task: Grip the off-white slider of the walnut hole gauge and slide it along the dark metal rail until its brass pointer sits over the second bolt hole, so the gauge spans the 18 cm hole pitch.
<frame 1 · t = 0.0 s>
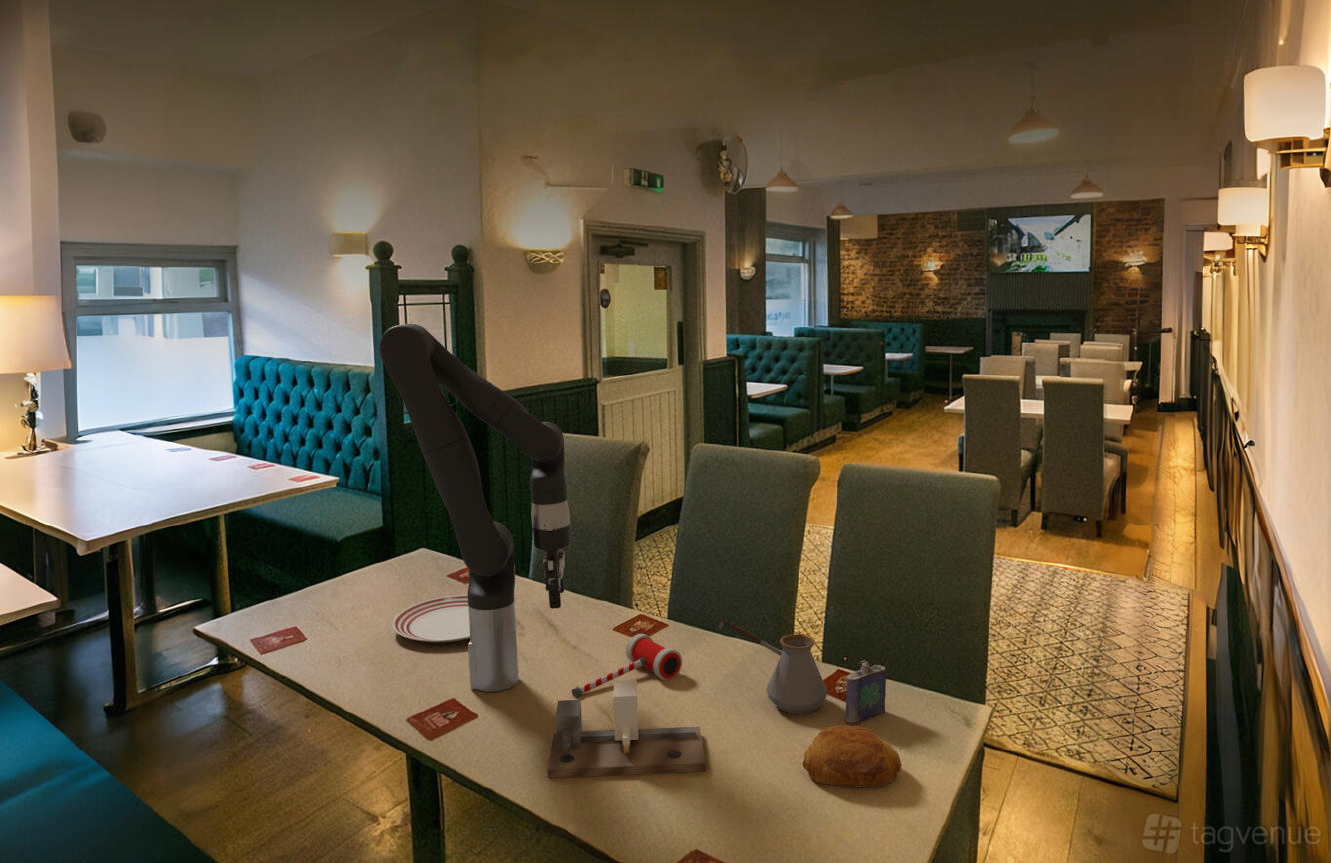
hand: (557, 600, 173), 17 cm above the table, tool pointing down, fingers open, 8 cm apart
dinner plate: (452, 628, 206), on the table
toy hammer: (632, 680, 177), on the table
gauge slider: (626, 714, 147), point 7 cm above the table, slide at 10.0 cm
croissant: (850, 771, 142), on the table
flask: (864, 717, 159), on the table
coffee pot: (771, 700, 166), on the table
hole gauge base: (627, 755, 147), on the table
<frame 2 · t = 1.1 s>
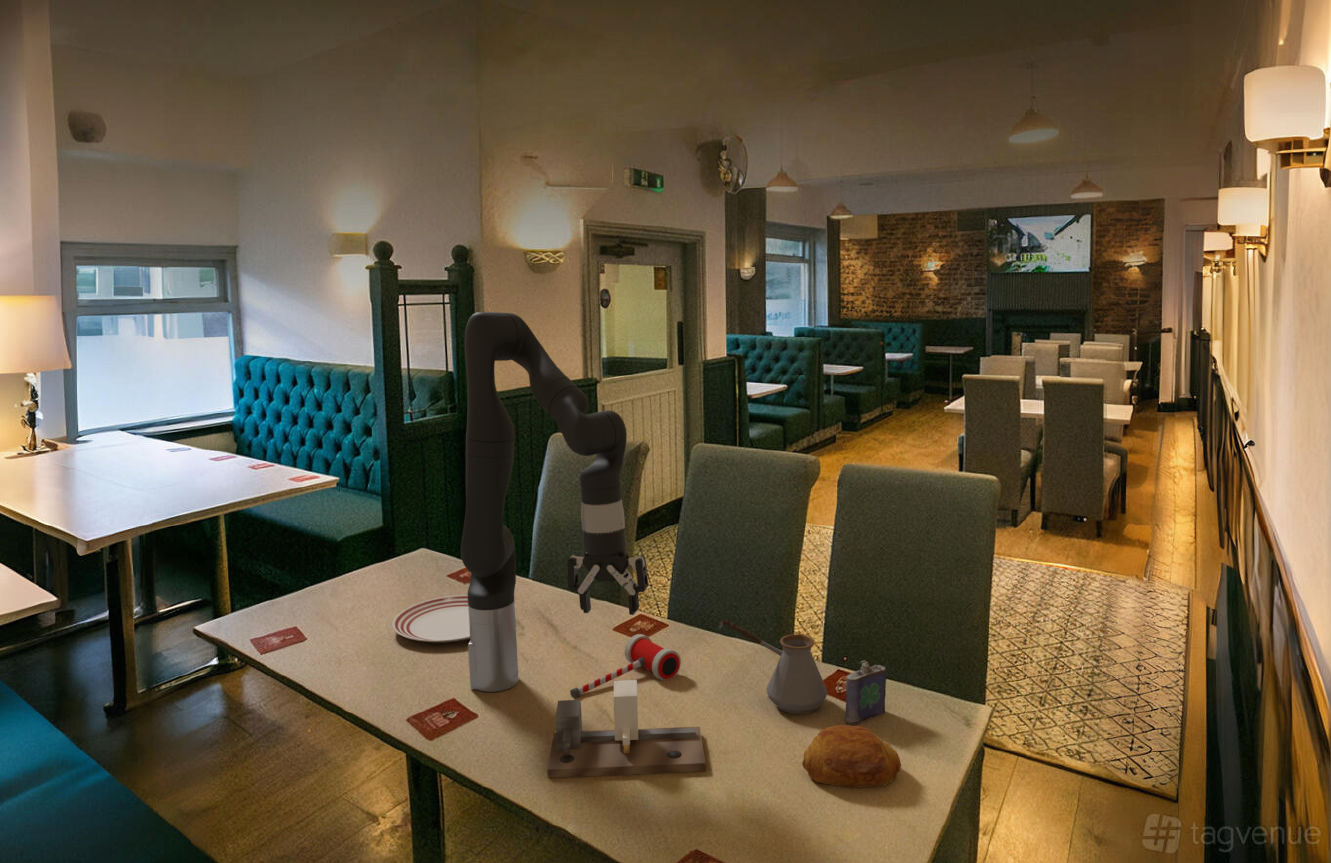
hand: (610, 612, 153), 22 cm above the table, tool pointing down, fingers open, 8 cm apart
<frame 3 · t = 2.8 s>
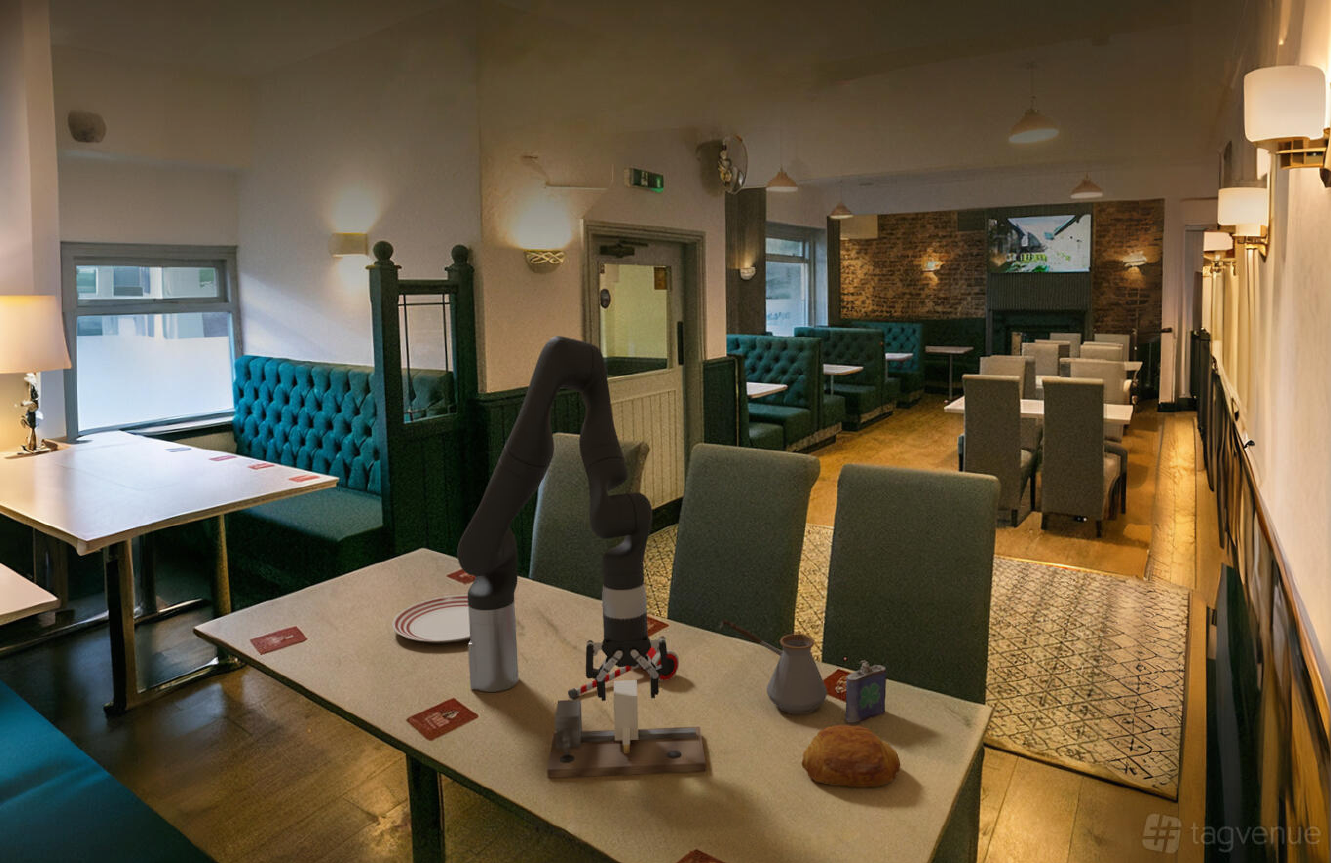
hand: (628, 697, 149), 9 cm above the table, tool pointing down, fingers open, 8 cm apart
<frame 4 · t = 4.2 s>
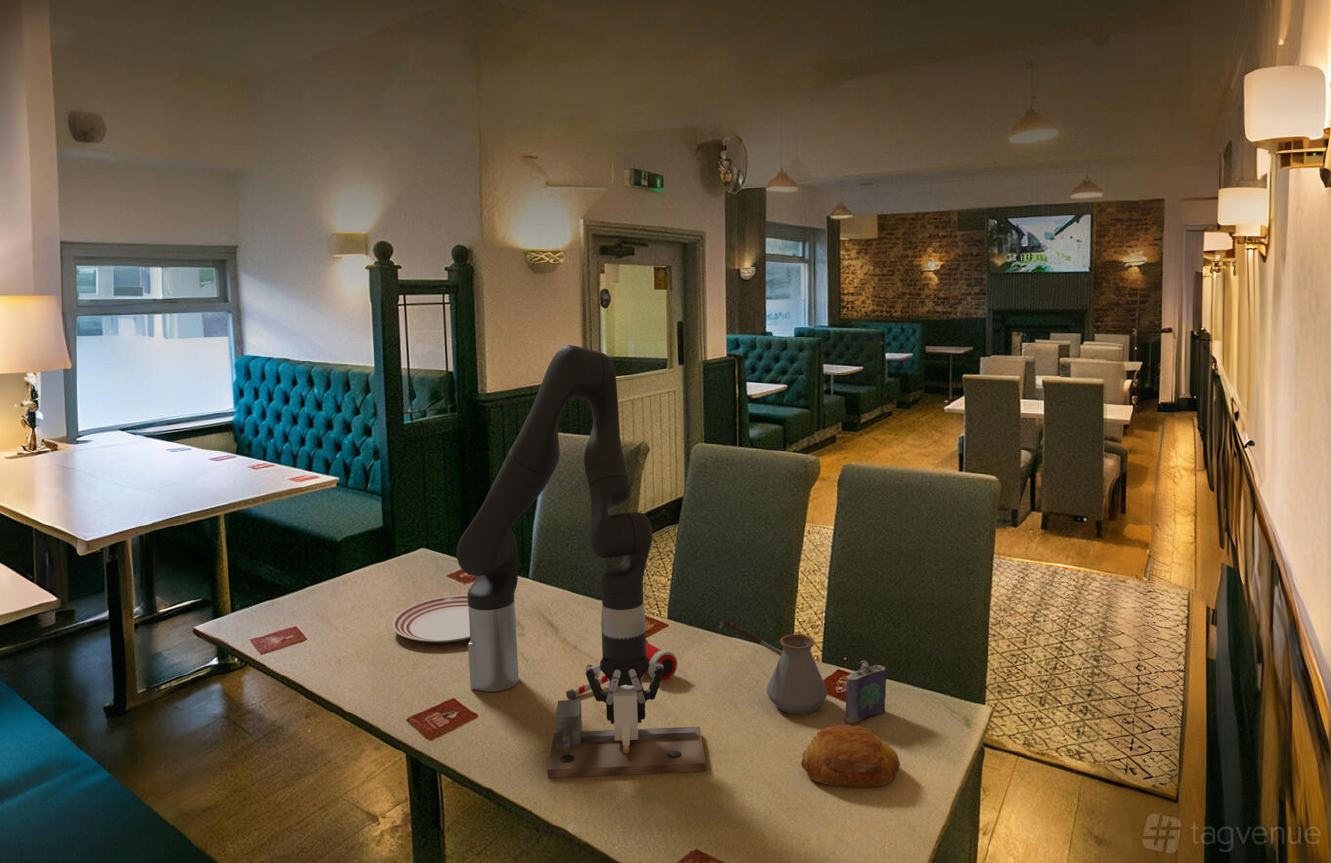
hand: (626, 720, 149), 5 cm above the table, tool pointing down, fingers closed on gauge slider, 4 cm apart
gauge slider: (625, 714, 147), point 7 cm above the table, slide at 10.0 cm, touching gripper
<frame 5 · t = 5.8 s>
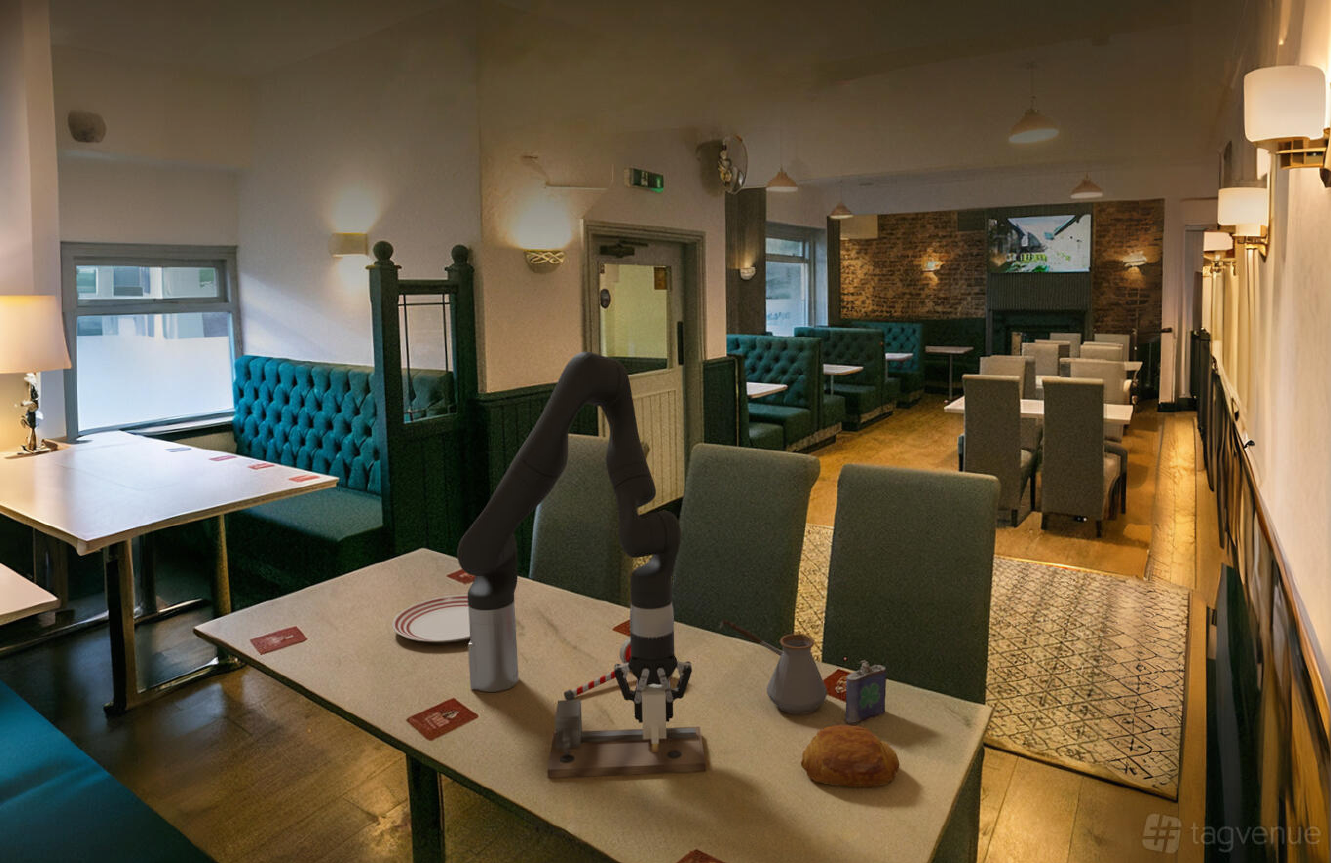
hand: (654, 719, 149), 5 cm above the table, tool pointing down, fingers closed on gauge slider, 4 cm apart
gauge slider: (653, 713, 147), point 7 cm above the table, slide at 14.8 cm, touching gripper
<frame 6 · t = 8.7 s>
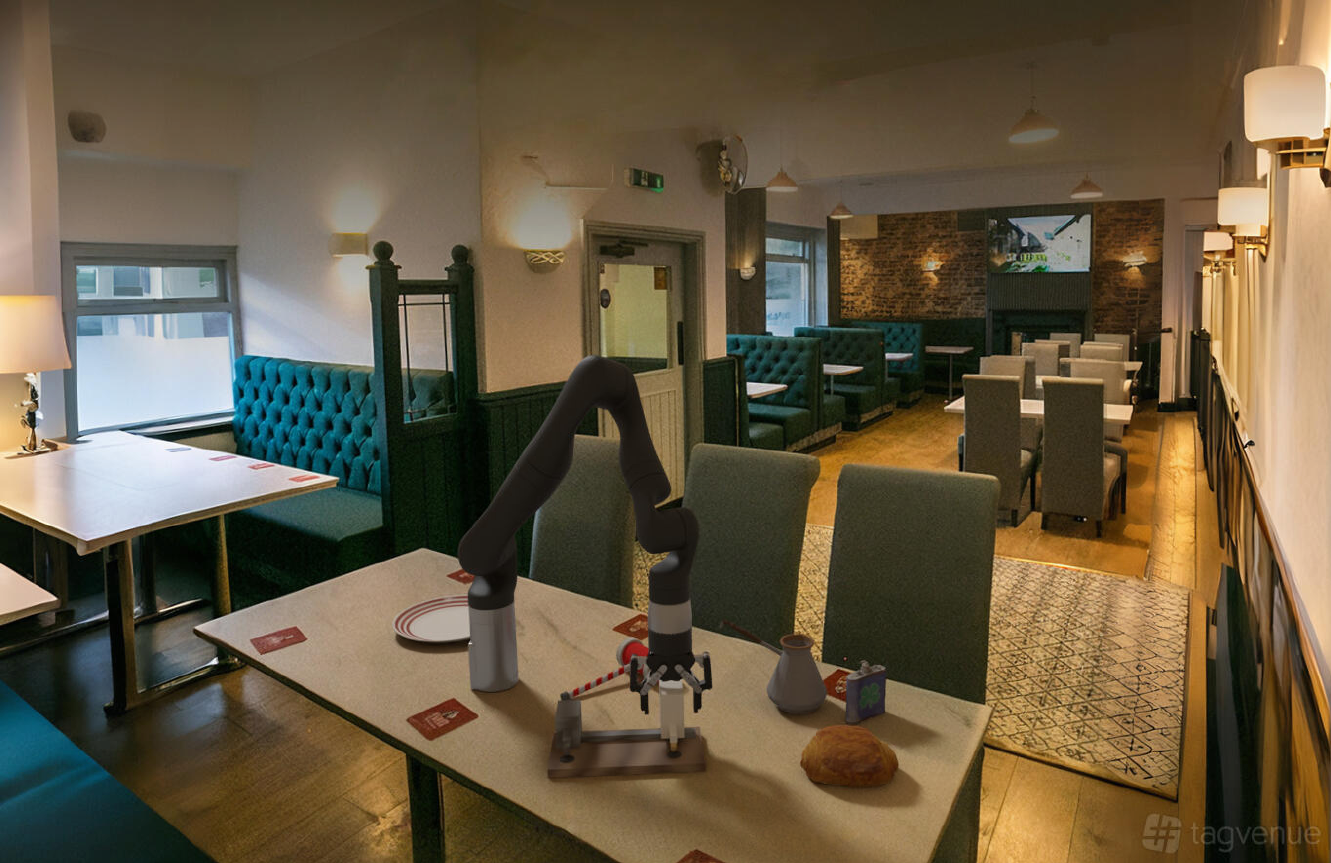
hand: (671, 711, 149), 6 cm above the table, tool pointing down, fingers open, 8 cm apart
gauge slider: (672, 712, 147), point 7 cm above the table, slide at 17.9 cm
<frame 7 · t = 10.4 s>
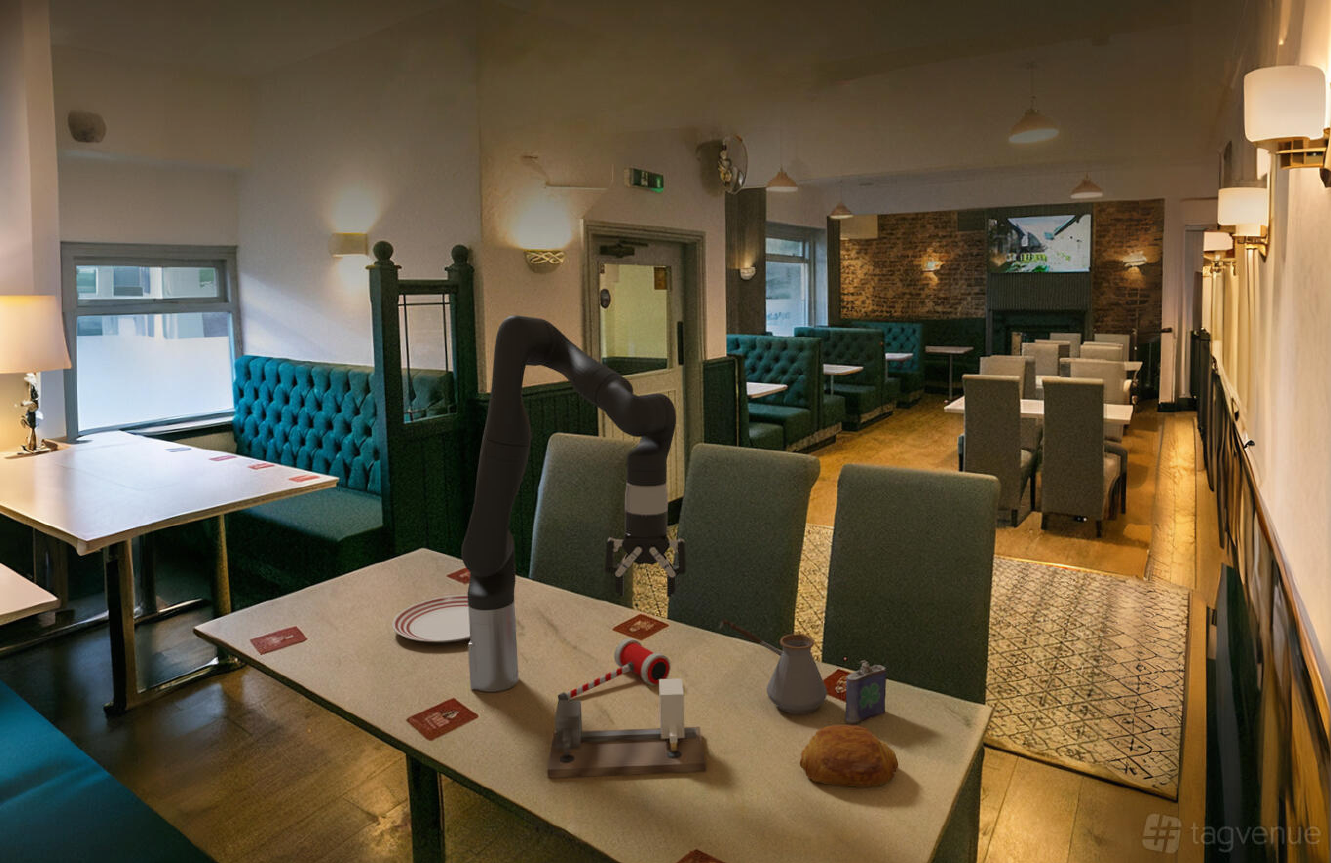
hand: (645, 595, 153), 25 cm above the table, tool pointing down, fingers open, 8 cm apart
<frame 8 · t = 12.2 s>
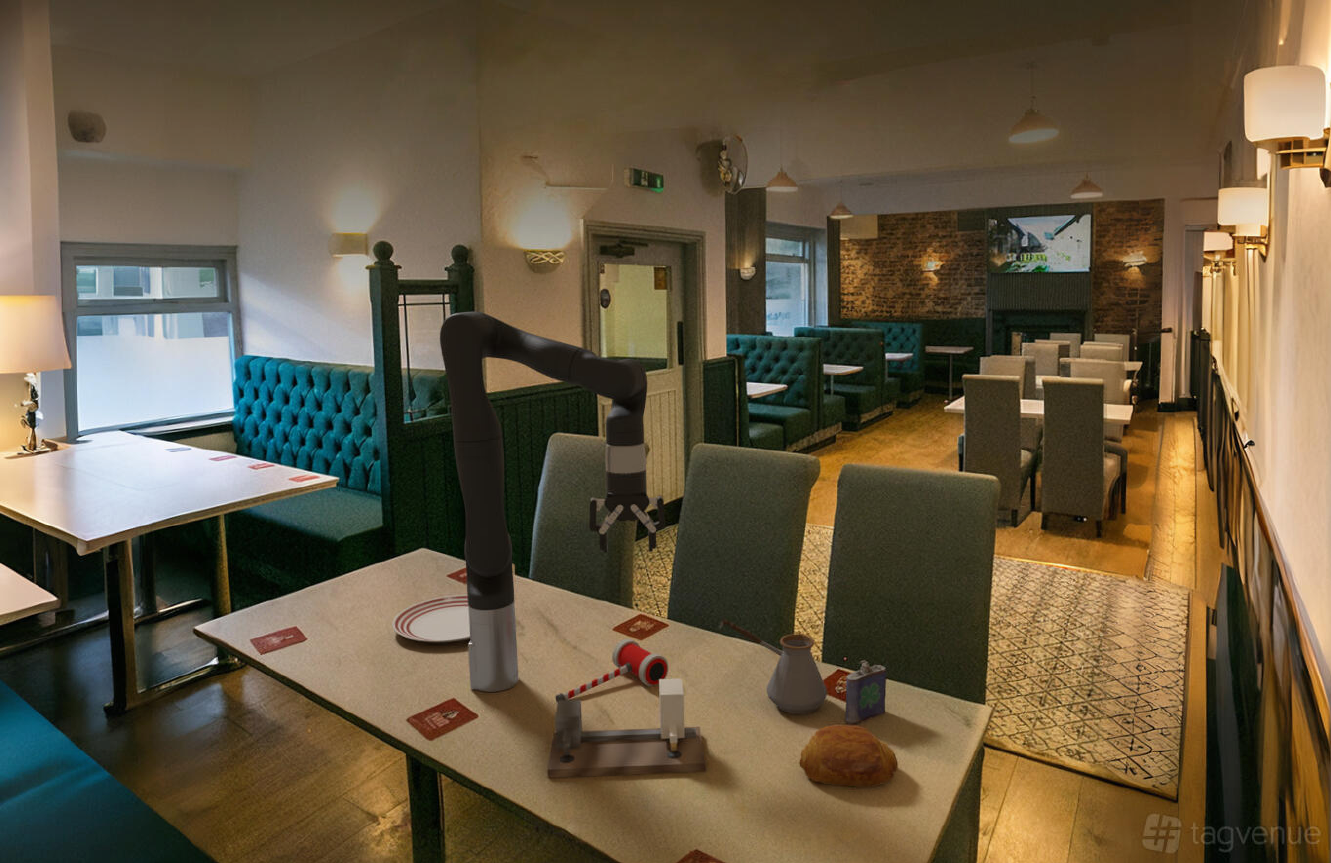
hand: (628, 551, 162), 30 cm above the table, tool pointing down, fingers open, 8 cm apart
at the end: gauge slider slide at 17.9 cm; the gripper is holding nothing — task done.
